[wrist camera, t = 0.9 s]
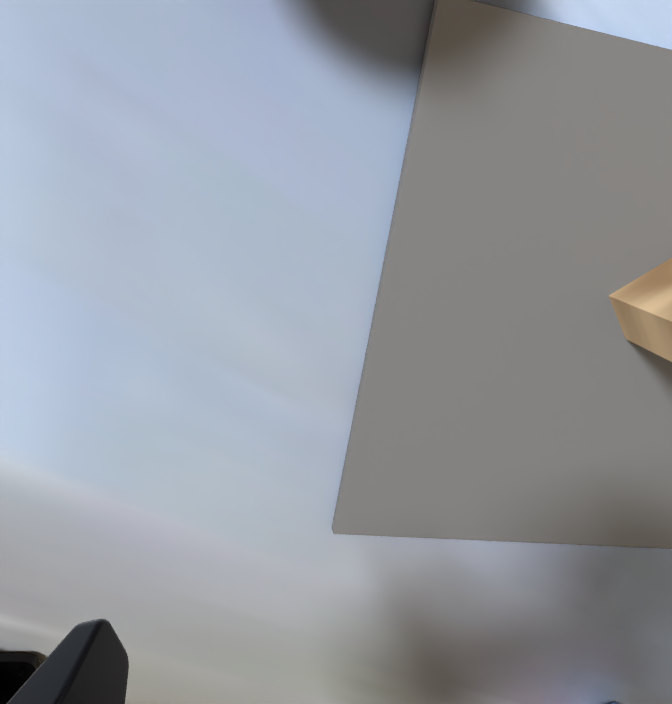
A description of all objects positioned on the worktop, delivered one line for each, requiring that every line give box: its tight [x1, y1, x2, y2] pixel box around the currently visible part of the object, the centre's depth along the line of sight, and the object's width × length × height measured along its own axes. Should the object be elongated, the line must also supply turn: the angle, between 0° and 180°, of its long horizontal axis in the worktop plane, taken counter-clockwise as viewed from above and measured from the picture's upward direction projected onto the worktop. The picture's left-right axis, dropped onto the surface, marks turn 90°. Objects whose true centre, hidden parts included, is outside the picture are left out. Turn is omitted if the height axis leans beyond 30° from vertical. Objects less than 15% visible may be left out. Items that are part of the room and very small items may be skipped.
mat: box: [332, 0, 672, 549], centre depth 23 cm, size 19×20×1 cm
